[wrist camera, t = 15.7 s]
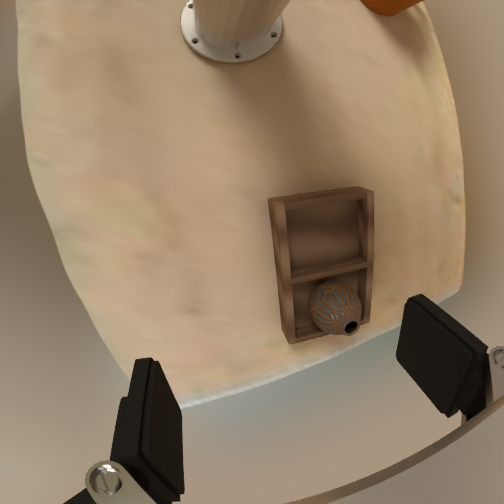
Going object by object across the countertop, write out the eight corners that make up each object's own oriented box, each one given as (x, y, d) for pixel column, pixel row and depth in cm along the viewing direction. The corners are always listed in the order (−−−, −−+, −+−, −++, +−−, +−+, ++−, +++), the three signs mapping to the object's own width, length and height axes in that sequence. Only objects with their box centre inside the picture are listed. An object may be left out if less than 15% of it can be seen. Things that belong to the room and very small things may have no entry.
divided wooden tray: (267, 198, 37) (275, 204, 33) (358, 186, 38) (373, 191, 34) (282, 329, 44) (289, 344, 40) (357, 309, 45) (369, 322, 42)
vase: (299, 316, 42) (320, 353, 34) (305, 273, 39) (331, 305, 31) (341, 313, 43) (367, 346, 35) (349, 272, 41) (381, 300, 33)
